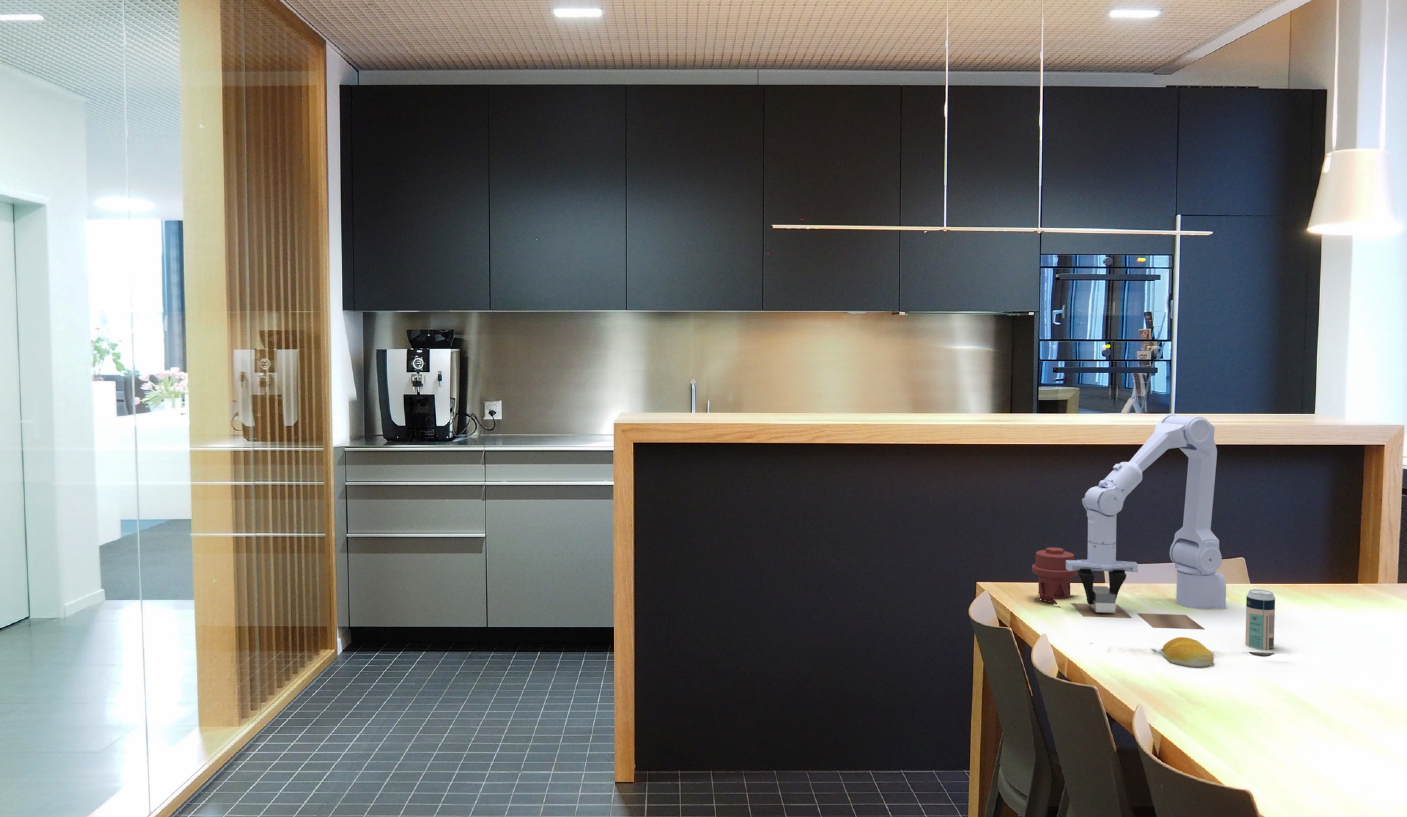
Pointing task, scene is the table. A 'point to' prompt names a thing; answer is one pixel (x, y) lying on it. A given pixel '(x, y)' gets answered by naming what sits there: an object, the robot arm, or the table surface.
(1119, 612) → the stand
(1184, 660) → the bread roll
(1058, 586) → the mechanical component
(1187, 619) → the stand
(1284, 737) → the table surface
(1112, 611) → the block
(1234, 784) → the table surface
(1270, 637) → the beer can
